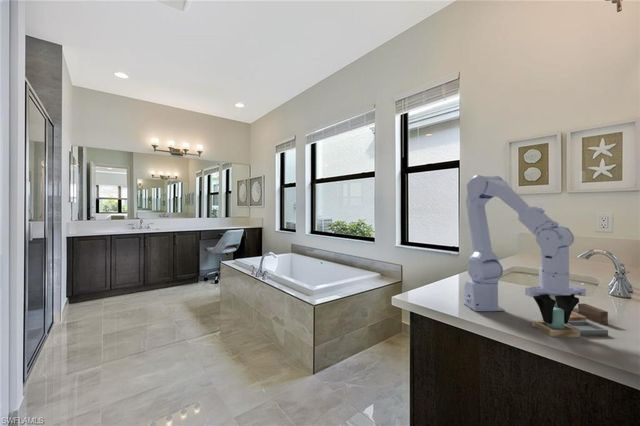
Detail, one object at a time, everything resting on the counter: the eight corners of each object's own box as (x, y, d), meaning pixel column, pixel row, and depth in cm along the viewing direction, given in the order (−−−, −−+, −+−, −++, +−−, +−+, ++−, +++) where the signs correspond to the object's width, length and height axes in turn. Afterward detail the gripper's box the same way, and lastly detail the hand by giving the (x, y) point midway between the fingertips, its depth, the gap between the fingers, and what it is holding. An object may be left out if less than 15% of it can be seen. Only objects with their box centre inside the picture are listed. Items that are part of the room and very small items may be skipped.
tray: (580, 336, 72) (580, 330, 72) (560, 326, 78) (560, 321, 78) (608, 335, 72) (608, 330, 72) (586, 326, 78) (586, 320, 78)
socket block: (552, 337, 72) (552, 331, 72) (532, 325, 79) (532, 320, 79) (580, 337, 72) (580, 331, 72) (557, 325, 79) (557, 320, 79)
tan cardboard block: (568, 326, 79) (568, 317, 79) (548, 316, 86) (548, 308, 86) (586, 325, 79) (586, 317, 79) (565, 316, 86) (565, 308, 86)
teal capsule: (554, 334, 73) (553, 311, 73) (543, 328, 77) (543, 306, 77) (567, 334, 73) (567, 311, 73) (556, 328, 77) (556, 306, 77)
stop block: (600, 324, 79) (600, 312, 79) (578, 314, 86) (578, 303, 86) (607, 324, 79) (607, 311, 79) (584, 314, 86) (584, 303, 86)
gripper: (539, 275, 71) (539, 328, 71) (596, 275, 71) (597, 328, 71) (519, 269, 78) (520, 318, 78) (572, 269, 78) (572, 317, 78)
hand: (555, 322), depth 75 cm, fingers closed on teal capsule, 4 cm apart
